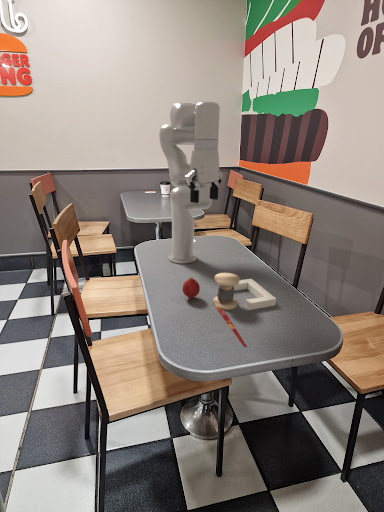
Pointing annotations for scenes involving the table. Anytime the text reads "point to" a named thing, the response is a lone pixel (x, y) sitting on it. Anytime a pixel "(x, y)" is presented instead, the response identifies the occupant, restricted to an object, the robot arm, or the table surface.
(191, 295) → the onion
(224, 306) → the spool
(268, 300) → the notch board
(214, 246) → the table surface
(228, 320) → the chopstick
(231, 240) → the table surface
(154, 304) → the table surface
